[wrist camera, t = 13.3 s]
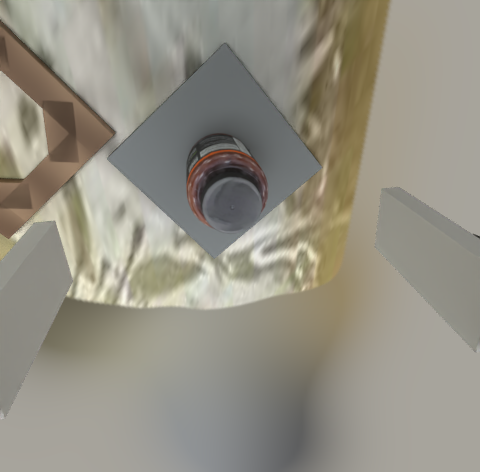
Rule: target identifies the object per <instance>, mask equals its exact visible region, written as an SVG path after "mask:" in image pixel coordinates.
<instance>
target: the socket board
mask: <svg viewBox="0 0 480 472" xmlns="http://www.w3.org/2000/svg"><path fill="white" fill-rule="evenodd" d="M0 71H2V72H3V73H4V74H6V75H7V76H8V77H9V78H10V79H11V80H12V81H13V82H14V83H15V84H16V85H18V86H19V87H20V88H21V89H22V90H23V91H24V92H25V93H26V94H27V95H28V96H30V97H31V98H32V99H33V100H34V101H35V102H36V103H37V104H38V105H39V106H40V107H42V108H43V115H44V123H45V130H46V137H47V145H48V152H49V155H48V156H47V157H46V158H45V159H44V160H43V161H42V162H41V163H40V164H39V165H38V166H37V167H36V168H35V169H34V170H33V171H32V172H31V173H30V174H29V175H28V176H27V177H26V178H25V179H4V178H0V233H1V234H2V235H4V236H5V237H6V238H8V239H9V238H10V237H11V236H12V235H13V234H14V233H15V232H16V231H17V230H18V229H19V228H20V227H21V226H22V225H23V224H24V223H25V222H26V221H27V220H28V219H29V218H30V217H31V216H32V215H33V214H34V213H35V212H36V211H37V210H38V209H39V208H40V207H41V206H42V205H43V204H44V203H45V202H46V201H47V200H48V199H49V198H50V197H51V196H52V195H53V194H54V193H56V192H57V191H58V190H59V189H60V188H61V187H62V186H63V185H64V184H65V183H66V182H67V181H68V180H69V179H70V178H71V177H72V176H73V175H74V174H75V173H76V172H77V171H78V170H79V169H80V168H81V167H82V166H83V165H84V164H85V163H86V162H87V161H88V160H89V159H90V158H91V157H92V156H93V155H94V154H95V153H96V152H97V151H98V150H99V149H100V148H101V147H102V146H103V145H104V144H105V143H106V142H107V141H108V140H109V139H110V138H111V137H112V136H113V135H114V134H115V132H114V131H113V130H112V129H111V128H110V127H109V126H108V125H107V124H106V123H105V122H104V121H103V120H102V119H101V118H100V117H99V116H98V115H97V114H96V113H95V112H94V111H93V110H92V109H91V108H90V107H89V106H88V105H87V104H85V103H84V102H83V101H82V100H81V99H80V98H79V97H78V96H77V95H76V94H75V93H74V92H73V91H72V90H71V89H70V88H69V87H68V86H67V85H66V84H65V83H64V82H63V81H62V80H61V79H60V78H59V77H58V76H57V75H56V74H55V73H54V72H53V71H52V70H51V69H50V68H49V67H48V66H47V65H45V64H44V63H43V62H42V61H41V60H40V59H39V58H38V57H37V56H36V55H35V54H34V53H33V52H32V51H31V50H30V49H29V48H28V47H27V46H26V45H25V44H24V43H23V42H22V41H21V40H20V39H19V38H18V37H17V36H16V35H15V34H14V33H13V32H12V31H11V30H10V29H9V28H8V27H6V26H5V25H4V24H3V23H2V22H1V21H0Z"/></svg>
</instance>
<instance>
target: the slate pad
mask: <svg viewBox="0 0 480 472" xmlns="http://www.w3.org/2000/svg"><path fill="white" fill-rule="evenodd" d="M217 133H220V134H227V135H231V136H233V137H235V138H236V139H238V140H239V141H240V142H242V143H243V144H244V145H245V146H246V147H247V149H248V150H250V153H251V154H252V156H253V157H254V159H255V160H256V161H257V163H258V164H259V166H260V167H261V169H262V171H263V172H264V174H265V176H266V179H267V183H268V198H267V202H266V205H265V208H264V209H263V211H262V213H261V214H260V216H259V218H258V220H257V221H256V223H257V222H259V221H260V220H261V219H262V218H263V217H264V216H266V215H267V214H268V213H269V212H270V211H272V210H273V209H274V208H275V207H276V206H277V205H279V204H280V203H281V202H282V201H283V200H285V199H286V198H287V197H288V196H289V195H291V194H292V193H293V192H294V191H295V190H296V189H298V188H299V187H300V186H301V185H302V184H304V183H305V182H306V181H307V180H308V179H309V178H311V177H312V176H313V175H314V174H315V173H317V172H318V171H319V170H320V169H321V168H322V167H321V165H320V164H319V163H318V161H317V160H316V159H315V158H314V156H313V155H312V154H311V152H310V151H309V150H308V149H307V147H306V146H305V145H304V143H303V142H302V141H301V140H300V138H299V137H298V136H297V134H296V133H295V132H294V131H293V129H292V128H291V127H290V125H289V124H288V123H287V122H286V120H285V119H284V118H283V116H282V115H281V114H280V113H279V111H278V110H277V109H276V107H275V106H274V105H273V104H272V102H271V101H270V100H269V98H268V97H267V96H266V94H265V93H264V92H263V91H262V89H261V88H260V87H259V85H258V84H257V83H256V82H255V80H254V79H253V78H252V76H251V75H250V74H249V73H248V71H247V70H246V69H245V67H244V66H243V65H242V64H241V62H240V61H239V60H238V58H237V57H236V56H235V55H234V53H233V52H232V51H231V49H230V48H229V47H228V46H227V44H226V43H224V44H223V45H222V46H221V47H220V48H219V49H218V50H217V51H216V52H215V53H214V54H213V55H212V56H211V57H210V58H209V59H208V60H207V61H206V62H205V63H204V64H203V65H202V66H201V67H200V68H199V69H198V70H197V71H195V72H194V73H193V74H192V75H191V76H190V77H189V78H188V79H187V80H186V81H185V82H184V83H183V84H182V85H181V86H180V87H179V88H178V89H177V90H176V91H175V92H174V93H173V94H172V95H171V96H170V97H169V98H168V99H167V100H166V101H165V102H164V103H163V104H162V105H161V106H160V107H159V108H158V109H157V110H156V111H155V112H154V113H153V114H152V115H151V116H150V117H149V118H148V119H146V120H145V121H144V122H143V123H142V124H141V125H140V126H139V127H138V128H137V129H136V130H135V131H134V132H133V133H132V134H131V135H130V136H129V137H128V138H127V139H126V140H125V141H124V142H123V143H122V144H121V145H120V146H119V147H118V148H117V149H116V150H115V151H114V152H113V153H112V154H111V155H110V156H109V157H108V158H107V160H108V161H110V162H111V163H112V164H113V165H114V166H115V167H116V168H117V169H118V170H119V171H120V172H121V173H122V174H124V175H125V176H126V177H127V178H128V179H129V180H130V181H131V182H132V183H133V184H134V185H135V186H136V187H138V188H139V189H140V190H141V191H142V192H143V193H144V194H145V195H146V196H147V197H148V198H149V199H150V200H152V201H153V202H154V203H155V204H156V205H157V206H158V207H159V208H160V209H161V210H162V211H163V212H164V213H166V214H167V215H168V216H169V217H170V218H171V219H172V220H173V221H174V222H175V223H176V224H177V225H178V226H180V227H181V228H182V229H183V230H184V231H185V232H186V233H187V234H188V235H189V236H190V237H191V238H192V239H194V240H195V241H196V242H197V243H198V244H199V245H200V246H201V247H202V248H203V249H204V250H205V251H206V252H208V253H209V254H210V255H211V256H212V257H213V258H214V259H215V258H216V257H217V256H218V255H219V254H221V253H222V252H223V251H224V250H225V249H226V248H228V247H229V246H230V245H231V244H232V243H234V242H235V241H236V240H237V239H238V238H240V237H241V236H242V235H243V234H244V233H245V232H247V231H248V230H249V229H250V228H251V227H250V228H249V229H247V230H245V231H243V232H240V233H235V234H227V233H222V232H219V231H217V230H215V229H213V228H211V227H209V226H207V225H205V224H204V223H202V222H201V221H200V220H199V219H198V218H197V217H196V216H195V215H194V213H193V212H192V210H191V208H190V205H189V202H188V199H187V189H186V164H187V159H188V156H189V153H190V151H191V149H192V147H193V146H194V145H195V144H196V143H197V142H198V141H199V140H200V139H202V138H204V137H206V136H208V135H211V134H217ZM256 223H255V224H256ZM255 224H254V225H255ZM254 225H253V226H254ZM253 226H252V227H253Z"/></svg>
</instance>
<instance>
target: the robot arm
mask: <svg viewBox="0 0 480 472" xmlns="http://www.w3.org/2000/svg"><path fill="white" fill-rule="evenodd" d="M375 248H376V249H377V250H378V251H379V252H380V253H381V254H382V255H383V256H384V257H385V258H386V259H387V261H388V262H389V263H390V264H391V265H392V266H393V267H394V268H395V269H396V270H397V271H398V272H399V273H400V274H401V275H402V276H403V277H404V278H405V279H406V280H407V282H409V283H410V285H411V286H412V287H413V288H414V289H415V290H416V291H417V292H418V293H419V294H420V295H421V296H422V297H423V298H424V299H425V300H426V301H427V302H428V303H429V304H430V306H431V307H432V308H433V309H434V310H435V311H436V312H437V313H438V314H439V315H440V316H441V317H442V318H443V319H444V320H445V321H446V322H447V323H448V324H449V326H451V328H452V329H453V330H454V331H455V332H456V333H457V334H458V335H459V336H460V337H461V338H462V339H463V340H464V341H465V342H466V343H467V344H468V345H469V346H470V348H471V349H472V350H473V351H474V352H480V236H477V235H475V234H471V233H470V232H468V231H467V230H465V229H463V228H462V227H461V226H459V225H457V224H456V223H454V222H453V221H451V220H450V219H448V218H447V217H445V216H443V215H442V214H440V213H439V212H437V211H436V210H434V209H432V208H431V207H429V206H428V205H426V204H425V203H423V202H421V201H420V200H418V199H417V198H415V197H414V196H412V195H411V194H409V193H408V192H406V191H405V190H403V189H402V188H400V187H394V188H384V189H381V198H380V206H379V215H378V223H377V232H376V240H375ZM72 282H73V279H72V276H71V272H70V269H69V266H68V262H67V259H66V256H65V252H64V249H63V246H62V242H61V239H60V235H59V232H58V229H57V225H56V222H55V221H47V222H36V223H34V224H33V225H32V226H31V227H30V228H29V229H28V231H27V232H26V233H25V234H24V235H23V236H22V237H21V238H20V240H19V241H18V242H17V243H16V244H15V245H14V246H13V248H12V249H11V250H10V251H9V252H8V253H7V254H6V255H5V257H4V258H3V259H2V260H1V261H0V419H5V418H6V416H7V414H8V412H9V410H10V408H11V405H12V404H13V401H14V400H15V397H16V395H17V394H18V392H19V389H20V387H21V385H22V383H23V381H24V379H25V377H26V375H27V373H28V371H29V369H30V367H31V365H32V363H33V361H34V359H35V357H36V355H37V353H38V351H39V349H40V347H41V345H42V343H43V341H44V339H45V337H46V335H47V333H48V331H49V329H50V327H51V325H52V323H53V321H54V318H55V316H56V314H57V312H58V310H59V308H60V306H61V304H62V302H63V300H64V298H65V296H66V294H67V292H68V290H69V288H70V286H71V284H72Z"/></svg>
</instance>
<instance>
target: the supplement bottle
mask: <svg viewBox="0 0 480 472" xmlns="http://www.w3.org/2000/svg"><path fill="white" fill-rule="evenodd" d="M186 189H187V199H188V202H189V205H190V208H191V210H192V212H193V213H194V215H195V216H196V217H197V218H198V219H199V220H200V221H201V222H202V223H204V224H205V225H207V226H209V227H211V228H213V229H215V230H217V231H219V232H222V233H227V234H235V233H240V232H243V231H245V230H247V229H249V228H250V227H252V226H253V225H254V224H255V223H256V221H257V220H258V218H259V216H260V214H261V213H262V211H263V209H264V208H265V205H266V202H267V198H268V183H267V179H266V176H265V174H264V172H263V171H262V169H261V167H260V166H259V164H258V163H257V161H256V160H255V159H254V157H253V156H252V154H251V153H250V150H248V149H247V147H246V146H245V145H244V144H243V143H242V142H240V141H239V140H238V139H236V138H235V137H233V136H231V135H227V134H220V133H217V134H211V135H208V136H206V137H204V138H202V139H200V140H199V141H198V142H197V143H196V144H195V145H194V146H193V147H192V149H191V151H190V153H189V156H188V159H187V164H186Z"/></svg>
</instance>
